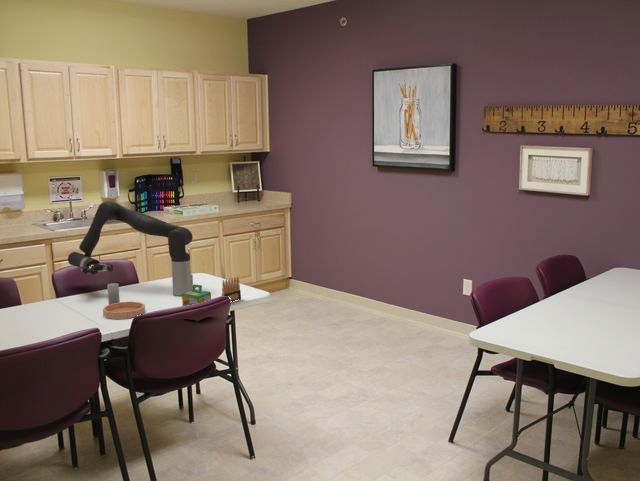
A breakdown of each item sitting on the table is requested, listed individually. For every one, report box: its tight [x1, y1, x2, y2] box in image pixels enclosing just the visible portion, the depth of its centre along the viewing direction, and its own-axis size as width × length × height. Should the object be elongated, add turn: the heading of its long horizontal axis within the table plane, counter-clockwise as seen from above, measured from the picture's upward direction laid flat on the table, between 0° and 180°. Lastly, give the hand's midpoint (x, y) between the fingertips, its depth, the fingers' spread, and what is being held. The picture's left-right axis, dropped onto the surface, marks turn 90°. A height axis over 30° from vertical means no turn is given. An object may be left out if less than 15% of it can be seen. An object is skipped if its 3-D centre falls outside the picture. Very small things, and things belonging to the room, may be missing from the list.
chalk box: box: [181, 283, 212, 307], centre depth 271 cm, size 9×9×15 cm
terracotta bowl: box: [102, 301, 146, 320], centre depth 280 cm, size 18×18×3 cm
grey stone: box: [106, 282, 121, 305], centre depth 293 cm, size 5×5×10 cm
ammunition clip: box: [221, 275, 242, 303], centre depth 296 cm, size 11×2×12 cm, turn 139°
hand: (102, 271), depth 300 cm, fingers open, 8 cm apart
